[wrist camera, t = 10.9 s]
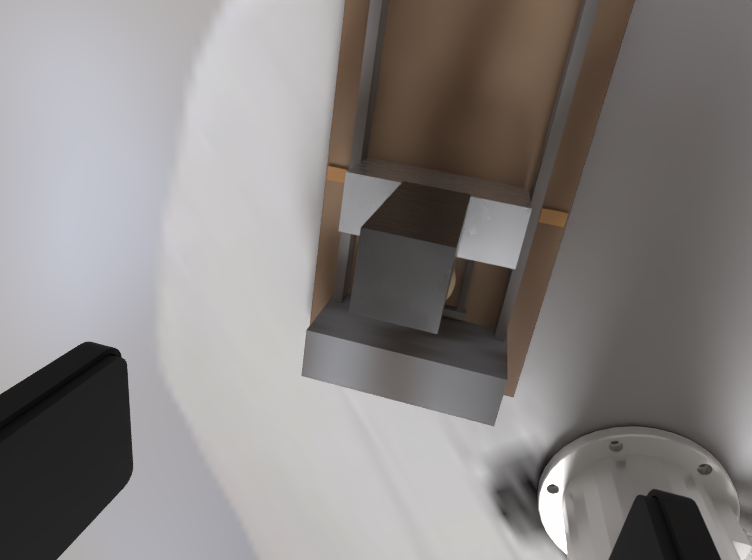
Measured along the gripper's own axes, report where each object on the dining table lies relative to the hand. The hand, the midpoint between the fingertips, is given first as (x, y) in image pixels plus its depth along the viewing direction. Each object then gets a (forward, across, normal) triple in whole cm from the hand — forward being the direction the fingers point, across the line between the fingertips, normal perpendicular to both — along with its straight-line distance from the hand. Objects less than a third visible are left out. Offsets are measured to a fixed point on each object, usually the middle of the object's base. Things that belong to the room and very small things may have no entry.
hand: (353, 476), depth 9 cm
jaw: (+22, +1, 0) cm, 22 cm away
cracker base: (+25, +1, -1) cm, 25 cm away
